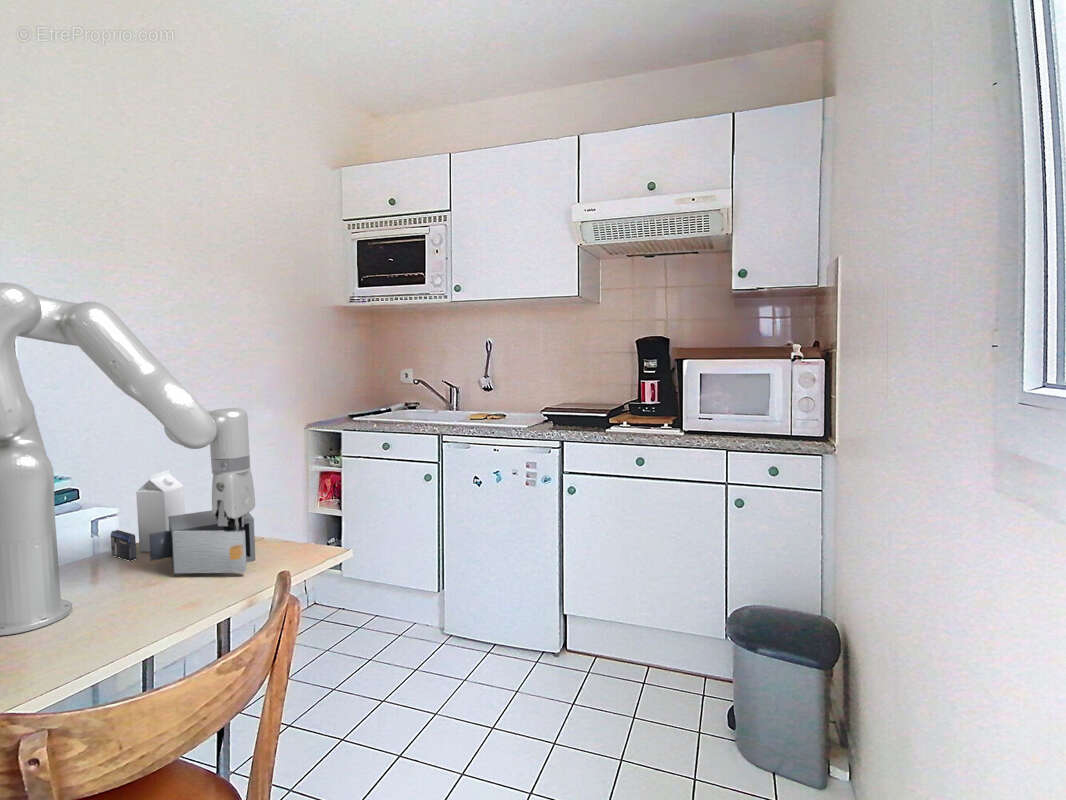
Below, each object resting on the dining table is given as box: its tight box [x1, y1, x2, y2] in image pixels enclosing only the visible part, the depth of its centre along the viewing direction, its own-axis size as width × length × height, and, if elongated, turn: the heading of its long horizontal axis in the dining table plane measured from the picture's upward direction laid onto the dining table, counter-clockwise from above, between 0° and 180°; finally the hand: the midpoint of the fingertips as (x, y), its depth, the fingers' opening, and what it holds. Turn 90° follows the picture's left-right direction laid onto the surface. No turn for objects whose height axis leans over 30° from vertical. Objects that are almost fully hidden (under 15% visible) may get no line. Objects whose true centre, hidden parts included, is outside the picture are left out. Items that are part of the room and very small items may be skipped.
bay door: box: [172, 530, 248, 574], centre depth 121 cm, size 15×2×9 cm, turn 91°
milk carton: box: [136, 469, 186, 553], centre depth 141 cm, size 7×7×19 cm
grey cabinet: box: [149, 509, 256, 577], centre depth 131 cm, size 20×14×10 cm
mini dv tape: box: [110, 529, 137, 562], centre depth 134 cm, size 8×2×6 cm, turn 60°
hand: (235, 546), depth 125 cm, fingers closed
